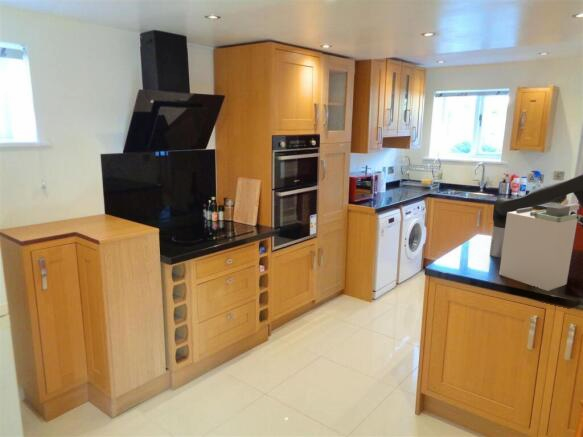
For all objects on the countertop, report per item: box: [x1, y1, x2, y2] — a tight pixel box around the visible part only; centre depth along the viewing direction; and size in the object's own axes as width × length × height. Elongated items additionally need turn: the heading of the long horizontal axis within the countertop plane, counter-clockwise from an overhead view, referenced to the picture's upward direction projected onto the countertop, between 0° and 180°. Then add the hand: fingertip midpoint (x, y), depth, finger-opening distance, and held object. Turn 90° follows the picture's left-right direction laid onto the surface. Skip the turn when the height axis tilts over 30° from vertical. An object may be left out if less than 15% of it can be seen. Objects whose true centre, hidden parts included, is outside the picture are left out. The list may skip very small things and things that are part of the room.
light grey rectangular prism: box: [545, 202, 581, 217], centre depth 197 cm, size 21×5×5 cm, turn 121°
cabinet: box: [498, 207, 578, 292], centre depth 202 cm, size 16×24×34 cm, turn 31°
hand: (581, 214), depth 206 cm, fingers open, 8 cm apart
